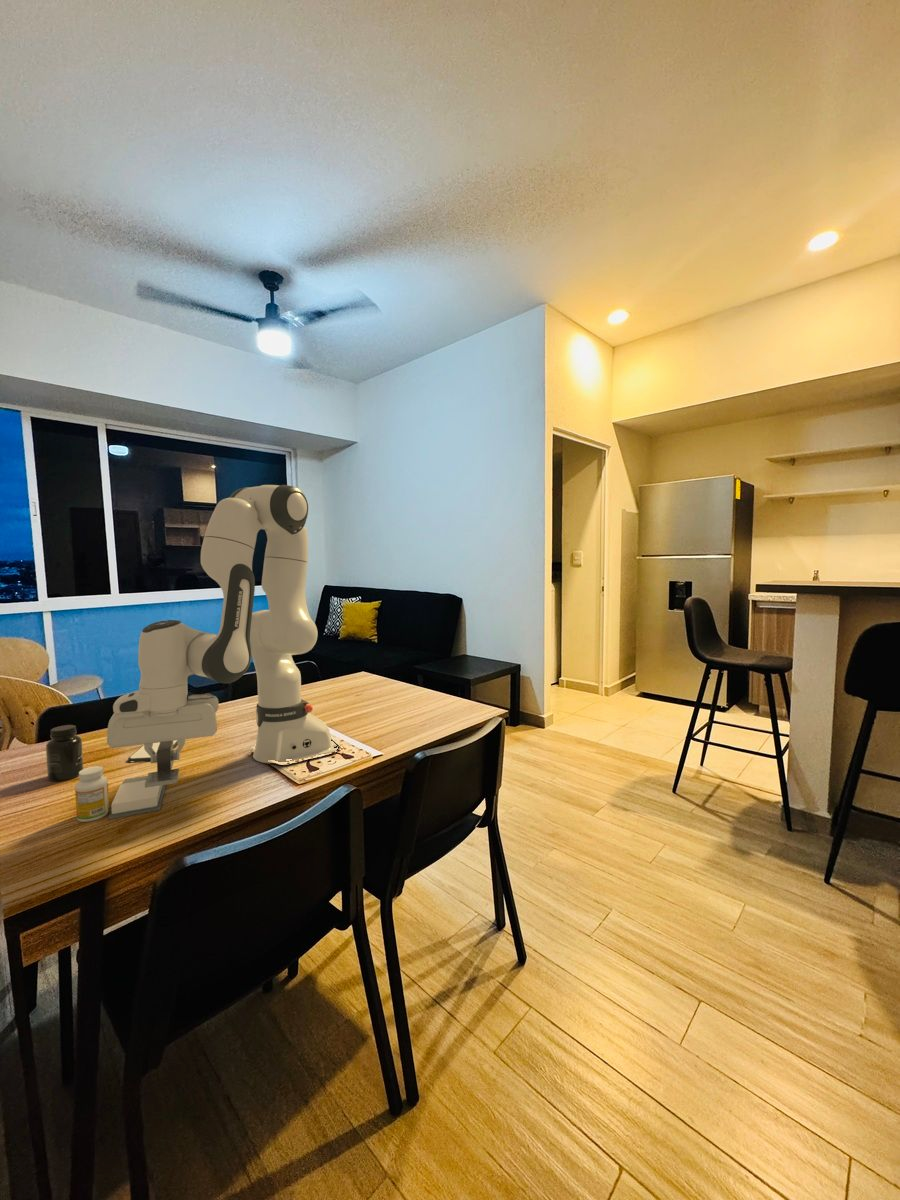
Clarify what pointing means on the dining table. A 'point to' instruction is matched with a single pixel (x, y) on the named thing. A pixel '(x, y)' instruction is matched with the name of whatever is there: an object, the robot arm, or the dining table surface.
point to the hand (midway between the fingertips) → (165, 760)
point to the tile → (135, 797)
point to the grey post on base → (163, 767)
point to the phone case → (143, 755)
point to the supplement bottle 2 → (91, 794)
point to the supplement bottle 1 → (64, 753)
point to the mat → (142, 809)
